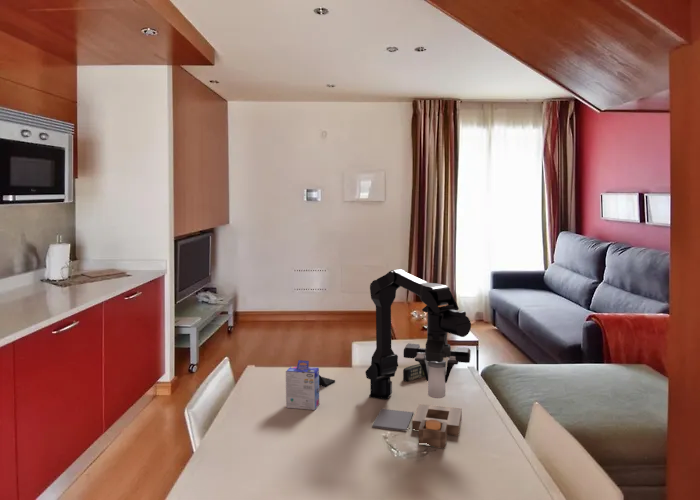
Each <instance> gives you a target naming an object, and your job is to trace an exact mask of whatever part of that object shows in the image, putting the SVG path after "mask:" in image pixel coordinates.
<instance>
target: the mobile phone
mask: <svg viewBox="0 0 700 500" xmlns="http://www.w3.org/2000/svg"><path fill="white" fill-rule="evenodd" d="M402 374H403V375H402V378H403V381H404V382H410V381H414V379H415V380H417V379H421V377H422V378H425V375H424V372H423V369H422V367H421V365H420V363H417V364H414V365H410V366H407V367H404V368H403V369H402Z"/></svg>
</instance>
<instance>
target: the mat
mask: <svg viewBox="0 0 700 500" xmlns="http://www.w3.org/2000/svg"><path fill="white" fill-rule="evenodd" d="M413 417H414V412H413V411H405V410H397V409H390V408H389V409H387V408H380V410H379V412H378V414H377V416H376V417H375V419H374V422H373V424H372V425H371V427H372V428H375V429H376V428H377V429H384V430H390V431H398V430H407V431H408V429H407V428H409V426H410V423H411V421H412V419H413Z"/></svg>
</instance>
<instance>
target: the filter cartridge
mask: <svg viewBox="0 0 700 500" xmlns="http://www.w3.org/2000/svg"><path fill="white" fill-rule="evenodd" d="M446 369H447V362H446V360H444V359H443V361H442V362H436V361H430V362H429V361H428V381H427V382H428V383H427V396H428V397H430V398H433V399H442V398H445V397H446V383H445V376H446Z"/></svg>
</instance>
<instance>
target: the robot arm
mask: <svg viewBox="0 0 700 500" xmlns="http://www.w3.org/2000/svg"><path fill="white" fill-rule="evenodd" d="M401 287H402V288H403V289H405V290H407V291H409V292H411V293H413V294H415V295H416V296H418V297H419V298H420V301H421V302H422V303H424V305H426V306H424V307H423V308H422V309H421V310H422V312H424V313H427V318H426V320H427V321H426V322H427V323H426V330H427V331H426V336H427V337H426V342H425V347H421V346H420V344H419V343H410V342H409V343H407V344H406V345H405V347H404V349H403V358H405V359H414V361H415V362H418V364H420V365H421V367H422V369H423V372H424V375H425V377H424V378H425V380H426V382H428V361H429V362H430V361H436V362H442V361H443V360H444V358H445V359H446V358H448V359H447V362H446V376H445V383H448V380H449V377H450V374H451V371H452V369H453V368H454V366H455V365H458V364H459V363H465V364H468V363H469V364H470V363H471V362H470V361H471V357H472V356H471V351H472V350H471V349H470V348H469V347H461V346H459V347H458V346H457V347H456V349H455V350H453V349H452V348H451V344H449V343H448V334H451V335H453V336H457V337H461V338H464V337H466V336H467V335H468V334H469V333H470V331H471V328H472V322H471V320H470V318H469V316H467V313H466V311H463V310H459V309H460V308H459V306H458V303H457V302H456V300H455V298H454V296H453V294H452V292H451V288H450V287H449V286H448V285H446V284H441V283H435V282H428V281H426V280H424V279H421V278H419V277H417V276H415V275H413V274H411V273H408V271H407V272H406V271H405V270H404V269H403V268H402V269H401V268H398V269H391V270H390V271H388V272H387V273H386V274H384V275H382V276H380V277H378V278H376V279H373V281H372V282H370V285H369V292H370V298H371V300H372V302H373V303H374V306H375V334H376V335H375V338H376V339H375V341H376V343H375V346H376V349H375V350H374V352H373V354H372V356H371V362H370V363H371V364H370V366H368V368H367V369H366V370H365V378H366V379H368V380H370V389H369V390H370V394H369V395H368V397H369V398H373V399H380V400H381V399H385V400H388V399H389V398H390V397H391V396H392V393H393V381H391V378H394V377H395V375H396V372H397V369H398V367H399V362H398V360H399V356H398V354H396V353H395V352H394V350H393V349H392V305H393V304H394V301H395V299H396V297H397V291H398V289H400V288H401Z"/></svg>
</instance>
